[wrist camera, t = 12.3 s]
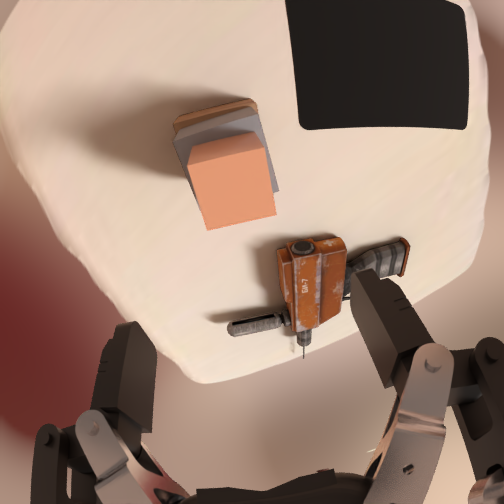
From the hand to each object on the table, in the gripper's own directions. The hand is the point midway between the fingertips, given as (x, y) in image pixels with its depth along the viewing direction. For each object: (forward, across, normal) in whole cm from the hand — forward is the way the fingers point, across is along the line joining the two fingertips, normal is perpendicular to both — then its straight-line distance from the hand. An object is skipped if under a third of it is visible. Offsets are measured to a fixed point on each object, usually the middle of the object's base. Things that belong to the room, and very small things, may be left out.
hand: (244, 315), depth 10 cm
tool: (+26, -8, +29) cm, 40 cm away
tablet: (+26, -23, -8) cm, 36 cm away
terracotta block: (+16, 0, 0) cm, 16 cm away
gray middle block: (+21, 0, 0) cm, 21 cm away
